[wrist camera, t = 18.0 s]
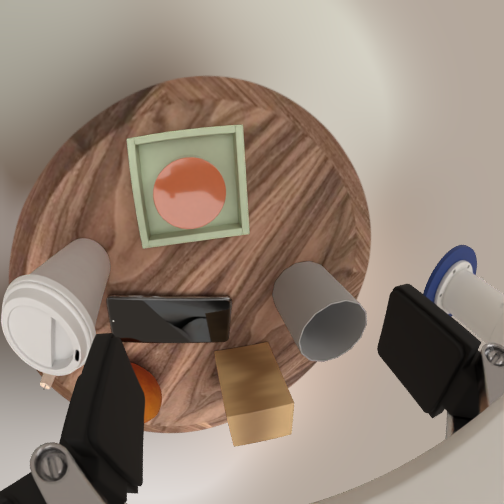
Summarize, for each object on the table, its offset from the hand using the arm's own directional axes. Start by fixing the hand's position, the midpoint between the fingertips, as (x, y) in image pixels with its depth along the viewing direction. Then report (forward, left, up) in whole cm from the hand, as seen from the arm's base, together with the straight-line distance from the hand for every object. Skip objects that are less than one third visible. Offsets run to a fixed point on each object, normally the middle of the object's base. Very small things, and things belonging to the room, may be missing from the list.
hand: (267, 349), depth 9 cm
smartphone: (+7, +14, -24) cm, 29 cm away
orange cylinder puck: (+2, -2, -24) cm, 24 cm away
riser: (-2, +25, -24) cm, 35 cm away
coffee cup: (+16, +5, -24) cm, 30 cm away
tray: (+2, -2, -24) cm, 24 cm away
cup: (-11, +13, -24) cm, 30 cm away
